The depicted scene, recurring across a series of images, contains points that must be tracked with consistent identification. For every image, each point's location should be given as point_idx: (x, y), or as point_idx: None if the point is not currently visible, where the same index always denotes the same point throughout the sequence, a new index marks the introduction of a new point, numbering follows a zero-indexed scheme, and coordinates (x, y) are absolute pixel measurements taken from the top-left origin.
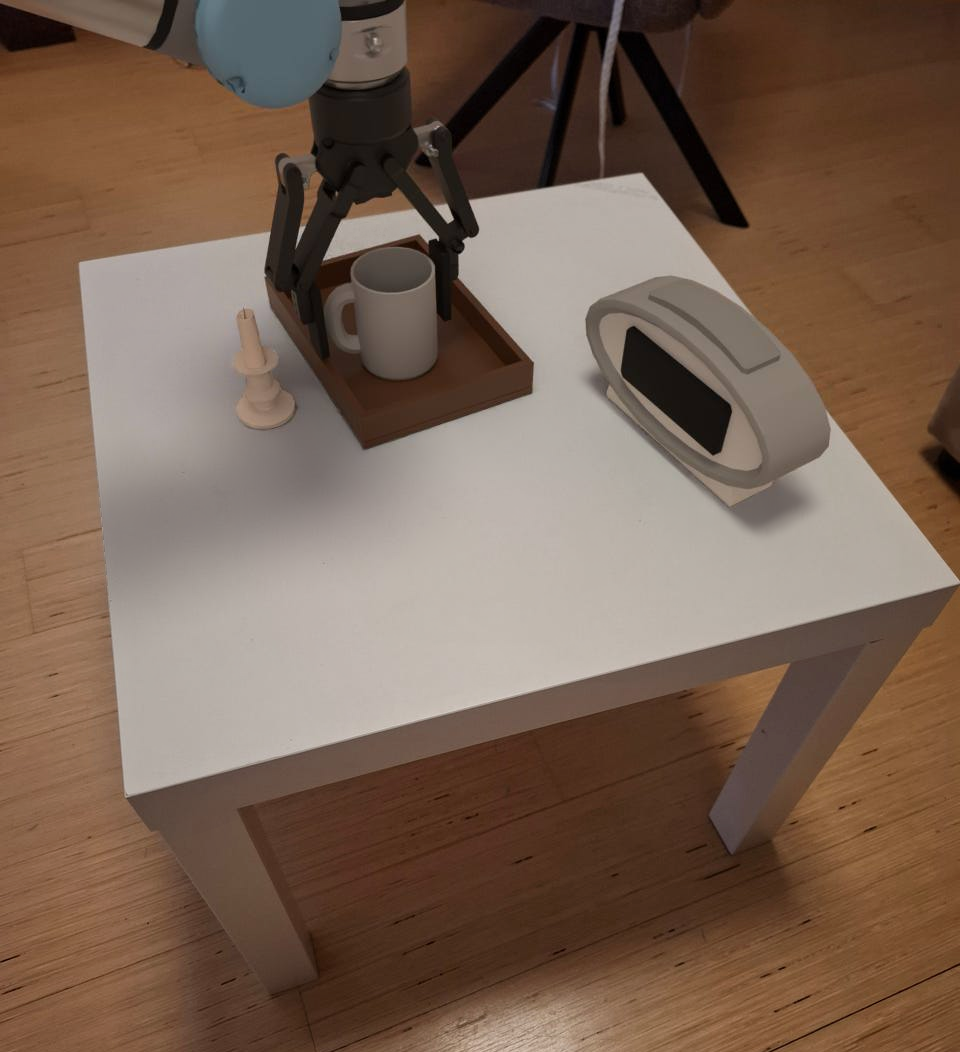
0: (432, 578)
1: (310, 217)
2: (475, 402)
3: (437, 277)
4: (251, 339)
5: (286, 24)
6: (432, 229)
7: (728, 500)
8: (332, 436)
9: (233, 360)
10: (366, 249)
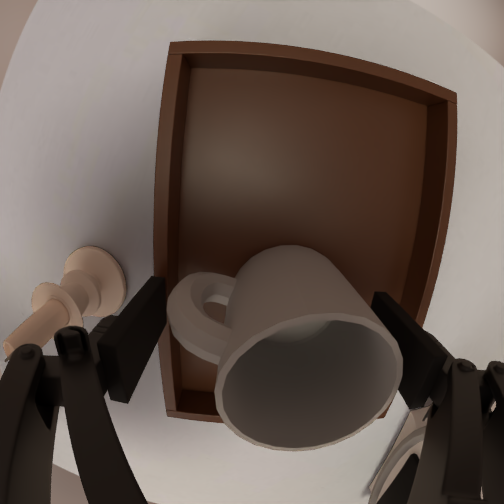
0: (177, 476)
1: (81, 478)
2: None
3: None
4: None
5: None
6: (450, 379)
7: (370, 488)
8: (150, 357)
9: (32, 298)
10: (373, 64)
